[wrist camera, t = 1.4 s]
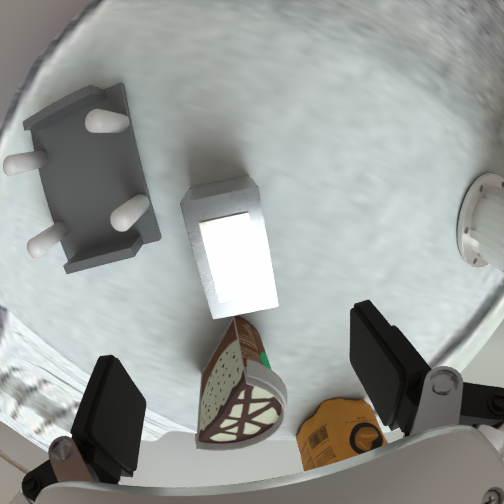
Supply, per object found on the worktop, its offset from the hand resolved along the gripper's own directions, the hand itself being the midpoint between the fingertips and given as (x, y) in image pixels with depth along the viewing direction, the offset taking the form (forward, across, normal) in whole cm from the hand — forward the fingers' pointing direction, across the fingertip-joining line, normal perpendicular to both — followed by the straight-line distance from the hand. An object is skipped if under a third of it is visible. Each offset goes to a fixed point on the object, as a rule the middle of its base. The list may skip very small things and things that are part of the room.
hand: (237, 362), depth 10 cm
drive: (+16, 0, 0) cm, 16 cm away
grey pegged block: (+16, +10, -8) cm, 21 cm away
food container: (+16, +2, +14) cm, 21 cm away
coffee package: (+16, -8, +33) cm, 38 cm away
